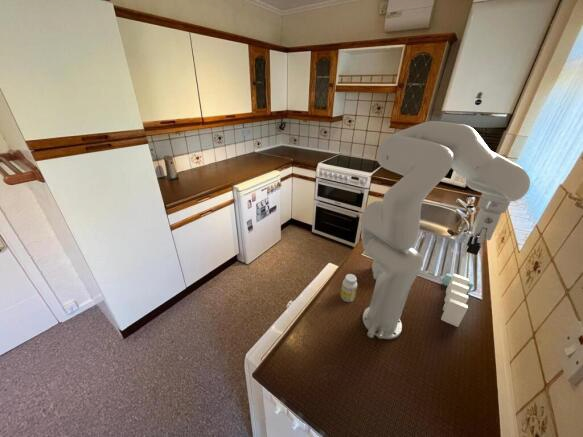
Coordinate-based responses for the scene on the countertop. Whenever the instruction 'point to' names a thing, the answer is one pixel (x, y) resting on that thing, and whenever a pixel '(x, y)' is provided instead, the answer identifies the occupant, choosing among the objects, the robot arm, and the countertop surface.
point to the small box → (377, 269)
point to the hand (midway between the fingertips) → (471, 249)
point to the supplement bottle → (349, 288)
